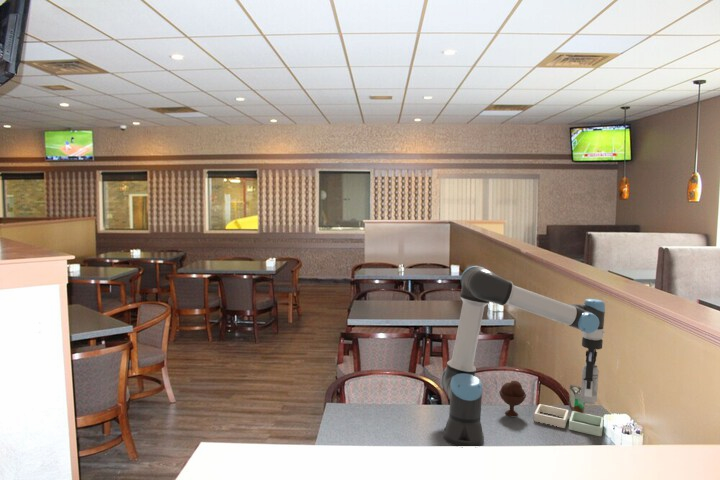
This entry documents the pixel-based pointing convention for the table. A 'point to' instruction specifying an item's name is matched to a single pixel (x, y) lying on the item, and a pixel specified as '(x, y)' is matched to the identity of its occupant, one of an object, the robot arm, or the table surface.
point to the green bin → (586, 427)
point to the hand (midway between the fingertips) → (588, 393)
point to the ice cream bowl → (512, 396)
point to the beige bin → (549, 419)
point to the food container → (576, 399)
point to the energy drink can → (594, 388)
